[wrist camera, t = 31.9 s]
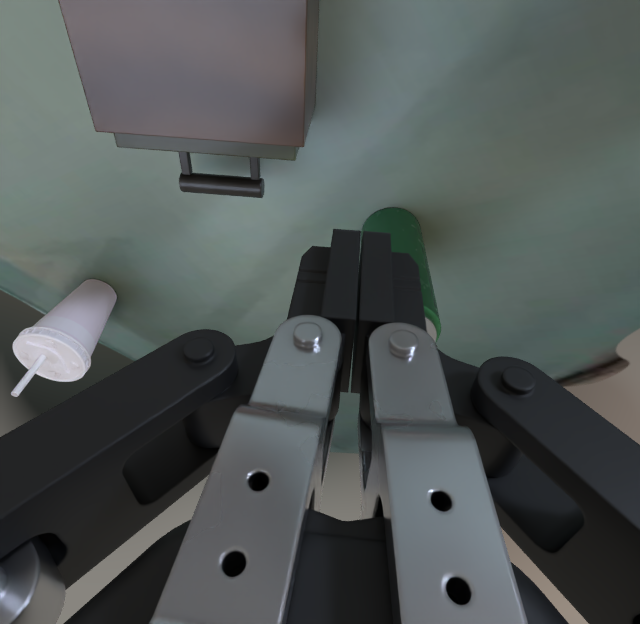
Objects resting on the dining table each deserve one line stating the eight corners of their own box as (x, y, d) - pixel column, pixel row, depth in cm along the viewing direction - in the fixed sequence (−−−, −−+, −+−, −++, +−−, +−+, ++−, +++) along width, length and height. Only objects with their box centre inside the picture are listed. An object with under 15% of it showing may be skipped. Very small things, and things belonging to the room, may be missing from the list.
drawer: (304, 178, 35) (294, 219, 30) (165, 167, 35) (132, 206, 30) (313, -160, 23) (299, -190, 17) (100, -172, 23) (25, -206, 18)
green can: (426, 209, 37) (451, 311, 27) (414, 261, 40) (432, 368, 30) (364, 205, 37) (366, 304, 27) (358, 256, 40) (357, 361, 30)
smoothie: (97, 259, 43) (10, 363, 32) (142, 304, 46) (77, 411, 36) (55, 281, 45) (-39, 385, 34) (100, 322, 49) (28, 428, 38)
